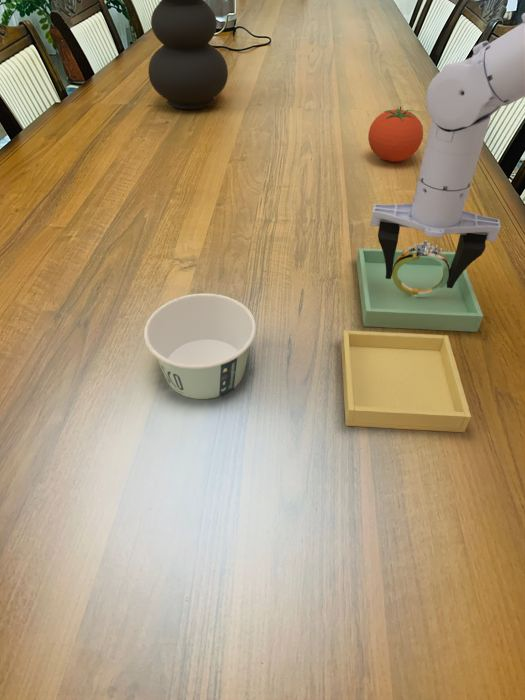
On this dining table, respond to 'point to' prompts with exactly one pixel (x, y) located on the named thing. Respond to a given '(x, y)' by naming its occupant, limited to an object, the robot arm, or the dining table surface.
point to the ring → (421, 251)
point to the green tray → (415, 313)
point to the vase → (186, 54)
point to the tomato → (395, 135)
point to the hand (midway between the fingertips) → (418, 279)
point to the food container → (201, 343)
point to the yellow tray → (402, 382)
